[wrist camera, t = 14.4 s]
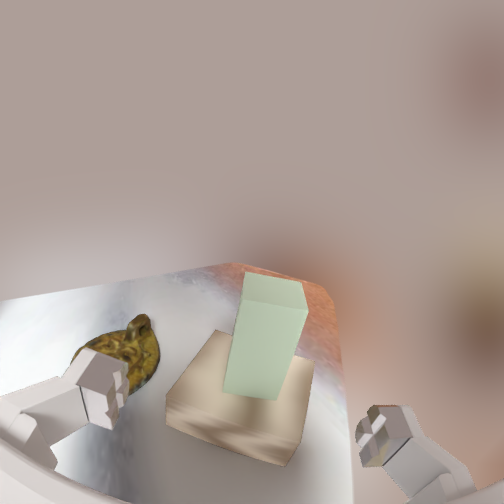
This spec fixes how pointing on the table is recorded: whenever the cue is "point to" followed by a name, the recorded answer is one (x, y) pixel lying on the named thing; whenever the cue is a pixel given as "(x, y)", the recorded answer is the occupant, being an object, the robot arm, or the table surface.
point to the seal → (130, 350)
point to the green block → (264, 336)
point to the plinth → (239, 406)
